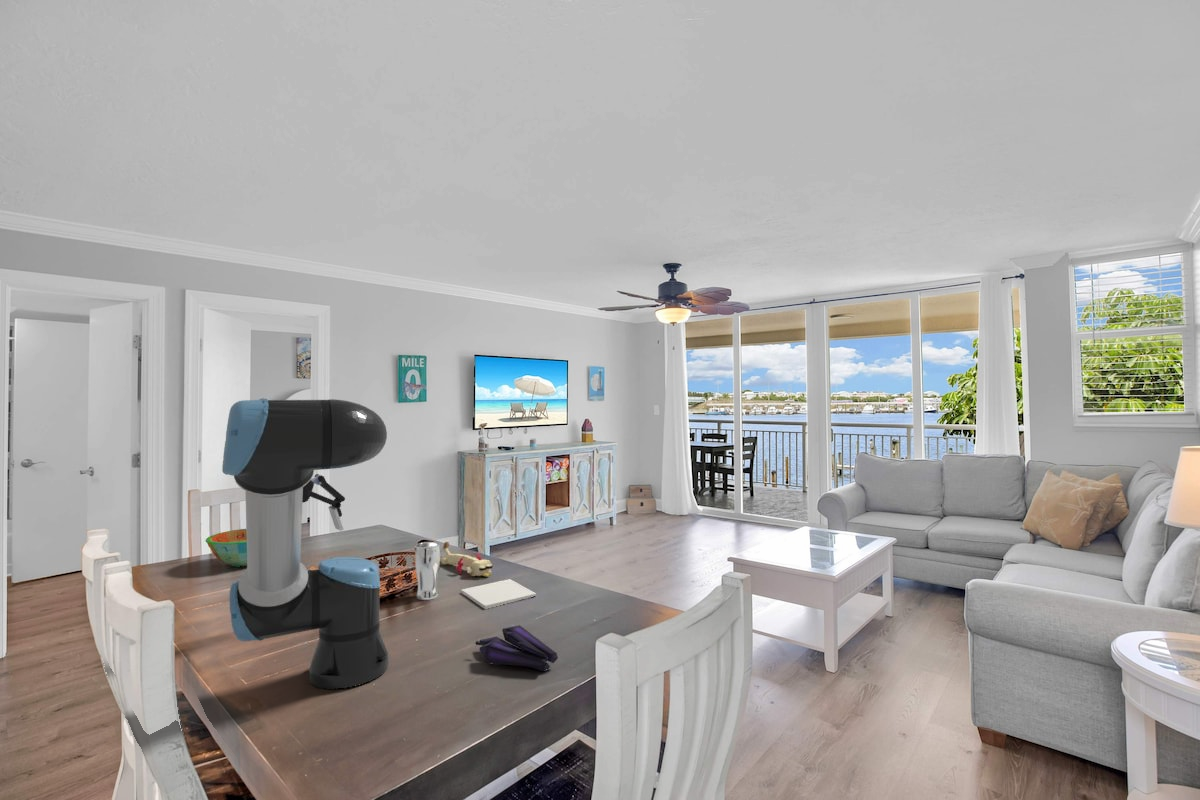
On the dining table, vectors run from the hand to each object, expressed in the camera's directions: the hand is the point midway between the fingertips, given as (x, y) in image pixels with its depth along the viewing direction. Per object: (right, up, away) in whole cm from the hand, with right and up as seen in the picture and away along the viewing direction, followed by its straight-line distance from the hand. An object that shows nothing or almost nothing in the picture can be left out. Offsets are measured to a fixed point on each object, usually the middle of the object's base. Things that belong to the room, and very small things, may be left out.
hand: (314, 542), depth 144 cm
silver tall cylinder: (+23, -21, +19) cm, 36 cm away
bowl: (-49, -20, +50) cm, 73 cm away
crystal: (+54, -21, -20) cm, 61 cm away
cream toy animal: (+28, -21, +44) cm, 56 cm away
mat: (+43, -20, +21) cm, 52 cm away
